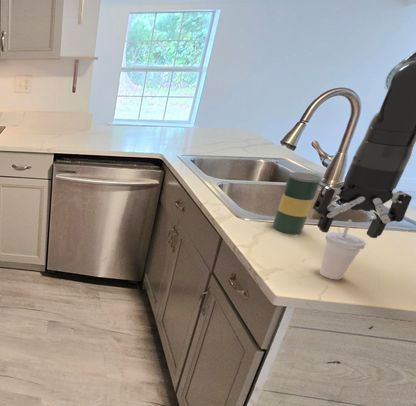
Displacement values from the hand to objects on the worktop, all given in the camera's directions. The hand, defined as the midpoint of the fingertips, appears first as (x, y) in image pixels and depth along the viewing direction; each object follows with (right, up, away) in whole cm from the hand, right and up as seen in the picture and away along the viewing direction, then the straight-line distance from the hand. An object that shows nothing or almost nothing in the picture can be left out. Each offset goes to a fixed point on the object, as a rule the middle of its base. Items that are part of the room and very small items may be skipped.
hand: (346, 233), depth 80 cm
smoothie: (0, -10, +4) cm, 11 cm away
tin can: (+8, -1, +25) cm, 26 cm away
